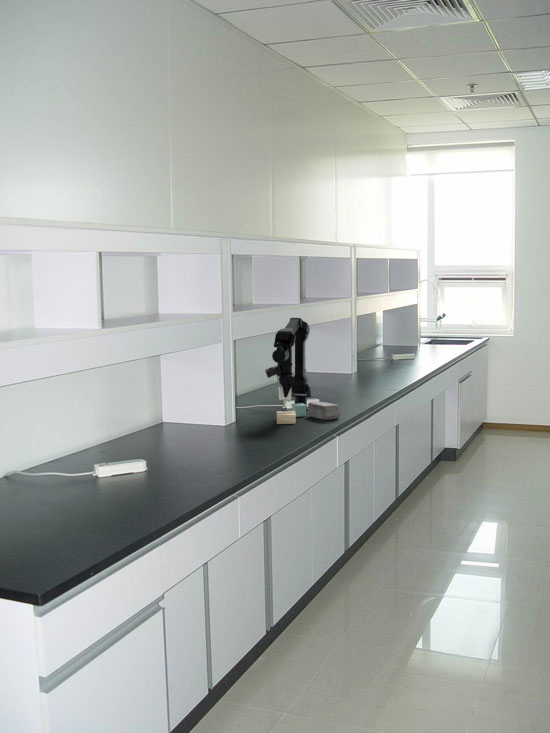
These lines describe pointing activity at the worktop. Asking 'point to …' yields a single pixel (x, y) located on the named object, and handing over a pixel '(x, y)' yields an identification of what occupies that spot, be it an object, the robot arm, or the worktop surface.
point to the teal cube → (299, 409)
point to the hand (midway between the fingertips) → (285, 396)
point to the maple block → (286, 417)
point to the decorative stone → (323, 410)
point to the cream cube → (281, 394)
